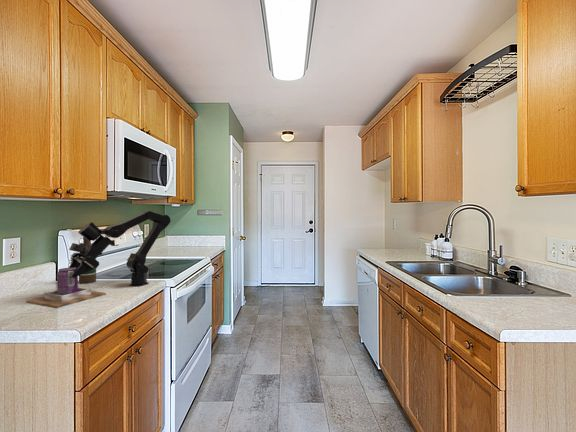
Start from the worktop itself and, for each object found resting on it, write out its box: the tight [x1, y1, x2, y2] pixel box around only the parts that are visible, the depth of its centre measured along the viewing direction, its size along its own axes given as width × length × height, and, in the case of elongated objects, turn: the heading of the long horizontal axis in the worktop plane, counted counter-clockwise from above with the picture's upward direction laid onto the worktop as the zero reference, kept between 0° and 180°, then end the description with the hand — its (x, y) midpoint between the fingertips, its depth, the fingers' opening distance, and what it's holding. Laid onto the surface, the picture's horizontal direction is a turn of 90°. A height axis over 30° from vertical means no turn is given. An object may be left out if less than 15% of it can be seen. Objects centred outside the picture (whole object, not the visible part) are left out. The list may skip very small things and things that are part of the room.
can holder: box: [25, 286, 107, 309], centre depth 130 cm, size 20×20×3 cm
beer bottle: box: [78, 236, 97, 285], centre depth 159 cm, size 8×8×24 cm
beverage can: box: [56, 267, 79, 295], centre depth 129 cm, size 7×7×12 cm
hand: (69, 275), depth 130 cm, fingers open, 9 cm apart
